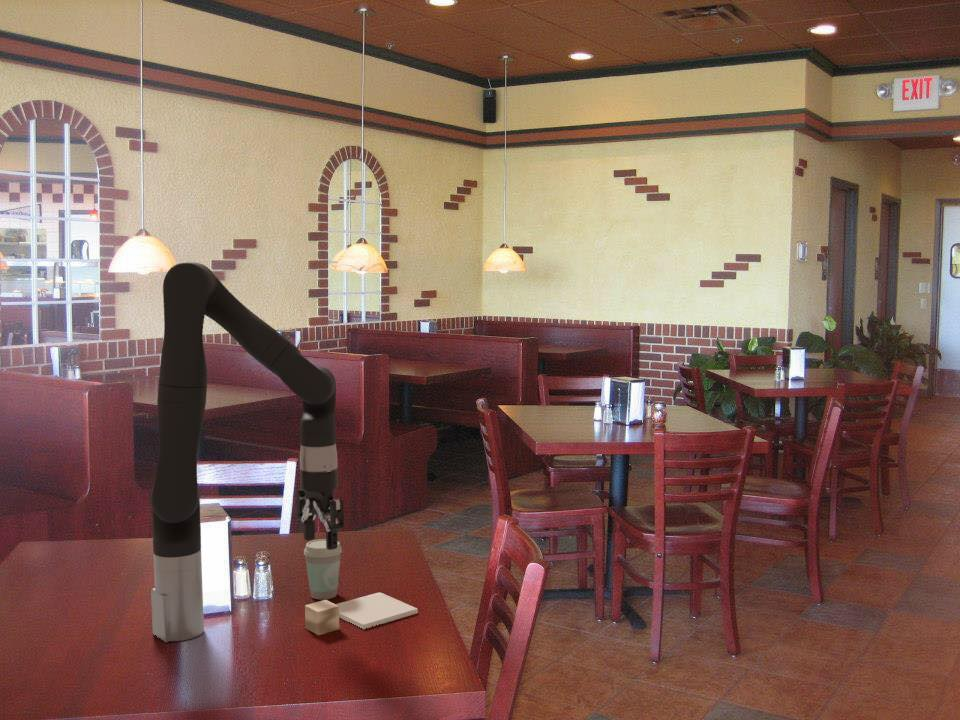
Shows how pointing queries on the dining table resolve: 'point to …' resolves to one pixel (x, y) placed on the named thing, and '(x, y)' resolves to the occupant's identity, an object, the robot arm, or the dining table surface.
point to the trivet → (374, 610)
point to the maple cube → (322, 617)
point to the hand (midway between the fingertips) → (320, 544)
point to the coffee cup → (322, 569)
